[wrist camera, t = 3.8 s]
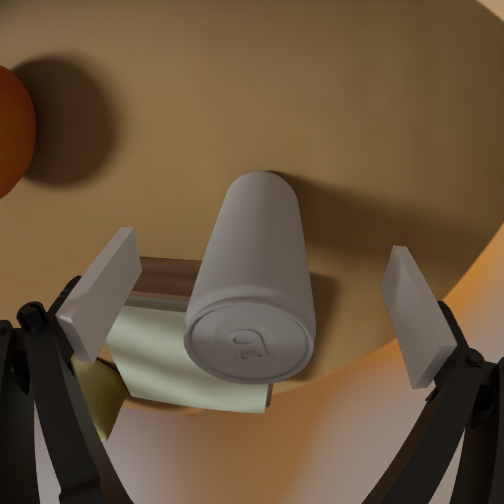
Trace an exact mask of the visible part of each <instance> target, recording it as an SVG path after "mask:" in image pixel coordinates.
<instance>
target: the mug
mask: <svg viewBox="0 0 504 504" xmlns="http://www.w3.org/2000/svg"><path fill="white" fill-rule="evenodd" d="M71 361H72V362H73V365H74V368H75V371H76V374H77V378H78V381H79V384H80V387H81V390H82V393H83V396H84V398H85V401H86V404H87V407H88V409H89V412H90V415H91V417H92V420H93V422H94V425H95V427H96V430H97V432H98V434H99V437H100V439H101V441H102V442H104V441H107V440H108V438H109V436H110V434H111V432H112V429H113V426H114V424H115V422H116V419H117V416H118V413H119V411H120V408H121V406H122V404H123V402H124V400H125V397H126V392H127V389H126V386H125V384H124V382H123V380H122V378H121V376H120V375H119V374H118V372H117V371H116V370H114V369H112V368H111V367H109V366H107V365H105V364H104V363H102V362H100V361H99V360H97V359H96V360H95V363H94V365H92V364H88V363H84V362H81V361H79V360H78V359H77V357H76V355H72V357H71Z"/></svg>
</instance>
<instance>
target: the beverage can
mask: <svg viewBox="0 0 504 504" xmlns="http://www.w3.org/2000/svg"><path fill="white" fill-rule="evenodd" d="M184 326H185V332H184V335H183V338H184V347H185V349H186V352H187V354H188V356H189V358H190V359H191V360H192V361H193V362H194V363H195V364H196V365H197V366H198V367H199V368H201V369H202V370H203V371H205V372H206V373H208V374H210V375H212V376H214V377H216V378H219V379H221V380H225V381H228V382H232V383H237V384H245V385H264V384H270V383H275V382H279V381H282V380H285V379H287V378H290V377H292V376H294V375H295V374H297V373H298V372H300V371H301V370H302V369H303V368H304V367H305V366H306V365H307V364H308V363H309V362H310V360H311V357H312V355H313V352H314V339H315V337H316V319H315V311H314V303H313V295H312V288H311V281H310V274H309V267H308V261H307V254H306V248H305V242H304V235H303V229H302V223H301V217H300V211H299V205H298V199H297V196H296V194H295V192H294V190H293V189H292V188H291V187H290V185H289V184H288V183H287V182H286V181H285V180H283V179H282V178H281V177H279V176H278V175H275V174H273V173H271V172H265V171H255V172H249V173H247V174H244V175H242V176H240V177H239V178H238V179H236V180H235V181H234V182H233V183H232V184H231V186H230V187H229V189H228V191H227V194H226V196H225V199H224V202H223V205H222V207H221V210H220V213H219V215H218V218H217V221H216V224H215V226H214V229H213V232H212V235H211V237H210V240H209V243H208V246H207V249H206V252H205V255H204V258H203V261H202V264H201V267H200V270H199V273H198V276H197V279H196V282H195V286H194V289H193V292H192V295H191V298H190V302H189V305H188V308H187V311H186V315H185V318H184Z"/></svg>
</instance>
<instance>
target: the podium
mask: <svg viewBox="0 0 504 504" xmlns="http://www.w3.org/2000/svg"><path fill="white" fill-rule="evenodd" d="M140 262H141V267H142V272H141V274H140V276H139V278H138V280H137V281H136V283H135V285H134V287H133V289H132V290H131V292H130V294H129V296H128V298H127V300H126V301H125V303H124V305H123V307H122V309H121V311H120V313H119V315H118V316H117V318H116V320H115V322H114V324H113V326H112V328H111V330H110V332H109V334H108V336H107V338H106V340H105V341H106V343H107V346H108V348H109V350H110V352H111V355H112V357H113V359H114V361H115V363H116V366H117V368H118V370H119V372H120V374H121V376H122V378H123V380H124V382H125V384H126V386H127V388H128V390H129V392H130V394H131V396H133V397H138V398H143V399H148V400H153V401H159V402H164V403H171V404H177V405H184V406H191V407H198V408H206V409H216V410H225V411H236V412H249V413H264V410H265V407H269V405H270V400H271V395H272V389H273V383H270V384H264V385H245V384H237V383H232V382H228V381H225V380H221V379H219V378H216V377H214V376H212V375H210V374H208V373H206V372H205V371H203V370H202V369H201V368H199V367H198V366H197V365H196V364H195V363H194V362H193V361H192V360H191V359H190V358H189V356H188V354H187V352H186V349H185V347H184V338H183V335H184V332H185V326H184V318H185V315H186V311H187V308H188V305H189V302H190V298H191V295H192V292H193V289H194V286H195V282H196V279H197V276H198V273H199V270H200V267H201V264H202V261H191V260H177V259H163V258H149V257H140Z"/></svg>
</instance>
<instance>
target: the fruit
mask: <svg viewBox="0 0 504 504" xmlns="http://www.w3.org/2000/svg"><path fill="white" fill-rule="evenodd" d="M35 140H36V118H35V110H34V107H33V103H32V100H31V97H30V95H29V93H28V91H27V89H26V88H25V86H24V85H23V83H22V82H21V81H20V79H19V78H18V77H17V76H16V75H15V74H14V73H12V72H11V71H10V70H9V69H7V68H5V67H3V66H0V199H1V198H2V197H4V196H5V195H6V194H8V193H9V192H10V191H11V190H12V189H13V188H14V186H15V185H16V184H17V183H18V181H19V180H20V179H21V177H22V176H23V175H24V173H25V172H26V170H27V168H28V167H29V165H30V163H31V160H32V157H33V152H34V147H35Z"/></svg>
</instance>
